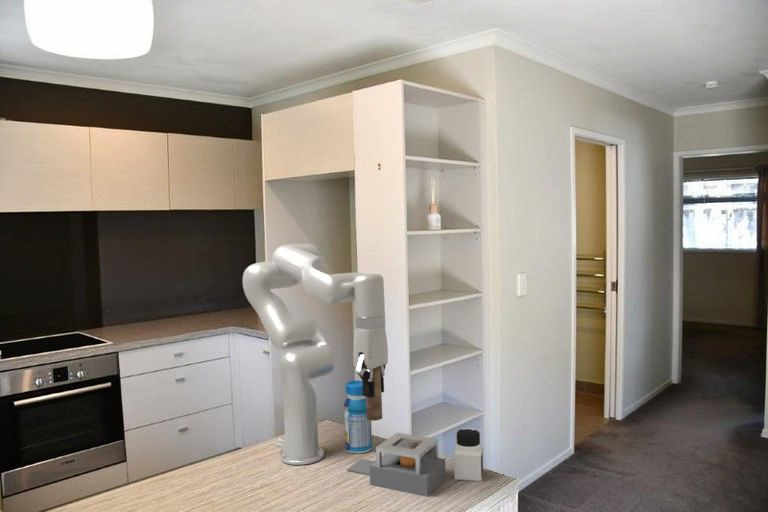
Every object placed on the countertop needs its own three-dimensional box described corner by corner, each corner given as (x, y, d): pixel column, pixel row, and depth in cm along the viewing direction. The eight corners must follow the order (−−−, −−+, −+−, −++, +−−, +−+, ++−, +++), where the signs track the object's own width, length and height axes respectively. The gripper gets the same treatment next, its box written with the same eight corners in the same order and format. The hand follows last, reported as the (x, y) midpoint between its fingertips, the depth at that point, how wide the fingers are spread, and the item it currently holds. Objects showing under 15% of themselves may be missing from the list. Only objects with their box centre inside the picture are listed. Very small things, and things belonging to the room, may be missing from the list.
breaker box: (370, 484, 151) (369, 465, 150) (391, 467, 161) (390, 449, 161) (427, 496, 143) (426, 476, 143) (445, 477, 154) (445, 458, 153)
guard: (376, 466, 149) (375, 447, 149) (397, 450, 160) (396, 432, 160) (419, 475, 144) (419, 454, 144) (438, 457, 154) (437, 438, 154)
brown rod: (363, 419, 149) (361, 356, 148) (371, 415, 152) (369, 353, 152) (377, 421, 147) (374, 357, 146) (385, 416, 150) (382, 354, 150)
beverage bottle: (359, 456, 169) (357, 388, 168) (338, 450, 175) (336, 383, 174) (378, 448, 176) (376, 382, 175) (357, 442, 181) (356, 378, 180)
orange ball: (395, 473, 151) (395, 452, 151) (403, 466, 155) (403, 446, 155) (412, 476, 149) (412, 455, 148) (420, 469, 153) (419, 449, 153)
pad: (346, 470, 160) (346, 469, 160) (361, 460, 167) (361, 458, 167) (372, 475, 156) (372, 474, 156) (386, 464, 163) (386, 463, 163)
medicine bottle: (482, 481, 151) (481, 435, 150) (454, 480, 152) (453, 434, 152) (483, 470, 158) (482, 426, 157) (456, 468, 159) (455, 425, 159)
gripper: (374, 317, 158) (377, 385, 158) (339, 327, 143) (342, 401, 144) (399, 318, 154) (402, 387, 154) (365, 328, 139) (368, 404, 140)
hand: (373, 393), depth 149 cm, fingers closed on brown rod, 4 cm apart
